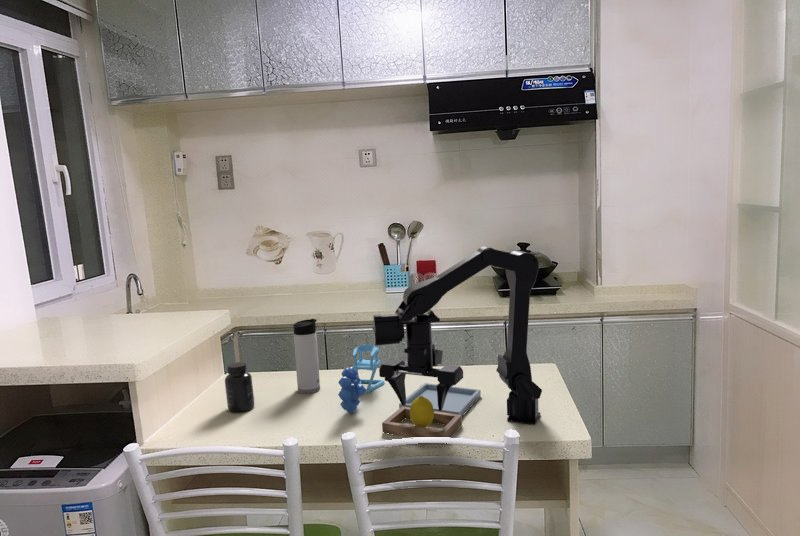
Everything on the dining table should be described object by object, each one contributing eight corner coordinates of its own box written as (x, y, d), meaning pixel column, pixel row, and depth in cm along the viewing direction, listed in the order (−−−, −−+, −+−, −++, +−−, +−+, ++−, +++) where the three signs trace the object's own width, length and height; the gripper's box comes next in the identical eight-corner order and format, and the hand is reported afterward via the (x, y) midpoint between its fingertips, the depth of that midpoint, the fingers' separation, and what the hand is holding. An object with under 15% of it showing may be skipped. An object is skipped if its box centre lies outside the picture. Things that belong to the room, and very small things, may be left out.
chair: (350, 392, 155) (347, 350, 154) (359, 381, 163) (356, 342, 162) (376, 393, 154) (374, 351, 152) (384, 382, 162) (382, 342, 160)
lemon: (432, 435, 126) (431, 401, 125) (408, 433, 127) (407, 400, 126) (436, 424, 131) (434, 392, 130) (412, 423, 132) (411, 391, 131)
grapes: (361, 422, 134) (358, 374, 133) (334, 421, 136) (331, 374, 134) (373, 404, 146) (371, 359, 144) (348, 403, 147) (346, 359, 145)
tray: (480, 396, 148) (480, 389, 147) (459, 419, 134) (459, 412, 133) (425, 389, 155) (424, 383, 155) (399, 410, 141) (399, 403, 140)
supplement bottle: (246, 401, 152) (242, 358, 150) (259, 407, 147) (255, 363, 145) (222, 409, 147) (218, 365, 145) (235, 416, 142) (231, 370, 141)
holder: (462, 425, 130) (461, 415, 130) (445, 444, 121) (444, 433, 121) (402, 416, 137) (402, 406, 137) (382, 433, 128) (382, 422, 128)
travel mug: (325, 389, 158) (320, 320, 155) (303, 395, 155) (298, 324, 152) (315, 383, 163) (310, 316, 161) (294, 389, 160) (289, 320, 157)
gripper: (470, 335, 129) (472, 400, 131) (398, 330, 138) (401, 391, 140) (453, 348, 119) (455, 418, 122) (376, 341, 128) (380, 407, 130)
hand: (422, 407), depth 128 cm, fingers open, 9 cm apart
